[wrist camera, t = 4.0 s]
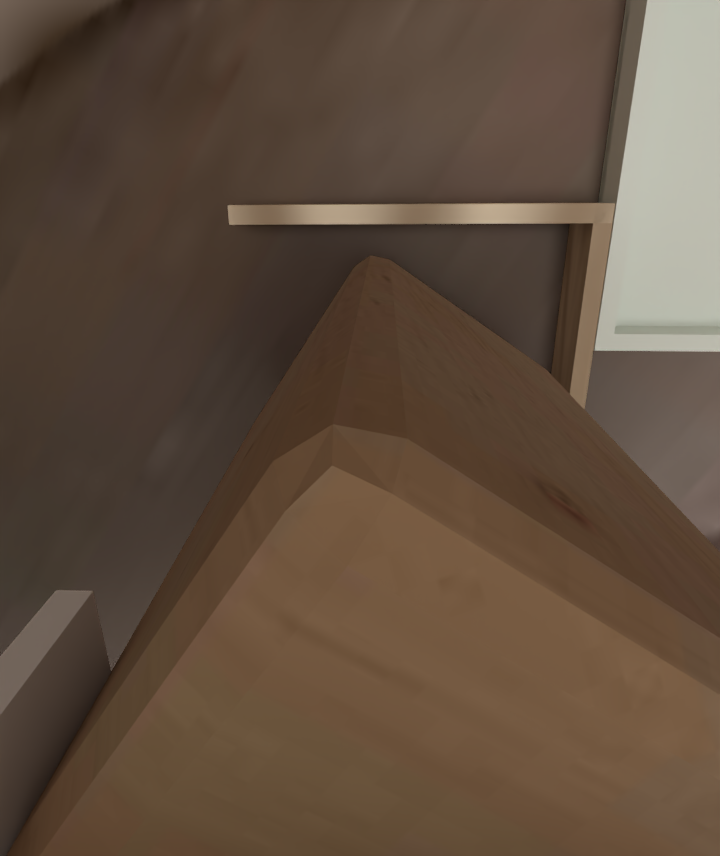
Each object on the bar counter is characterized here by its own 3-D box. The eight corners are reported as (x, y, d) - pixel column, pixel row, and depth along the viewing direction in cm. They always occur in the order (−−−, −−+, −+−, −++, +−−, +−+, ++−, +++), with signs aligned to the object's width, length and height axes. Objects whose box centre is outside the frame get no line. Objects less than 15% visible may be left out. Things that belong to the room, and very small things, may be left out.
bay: (268, 499, 34) (255, 531, 31) (246, 204, 28) (227, 205, 25) (548, 506, 33) (564, 539, 30) (589, 202, 27) (615, 203, 24)
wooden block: (369, 242, 23) (312, 423, 5) (558, 375, 25) (1062, 889, 6) (248, 430, 26) (-65, 972, 8) (423, 535, 28) (500, 1178, 10)
